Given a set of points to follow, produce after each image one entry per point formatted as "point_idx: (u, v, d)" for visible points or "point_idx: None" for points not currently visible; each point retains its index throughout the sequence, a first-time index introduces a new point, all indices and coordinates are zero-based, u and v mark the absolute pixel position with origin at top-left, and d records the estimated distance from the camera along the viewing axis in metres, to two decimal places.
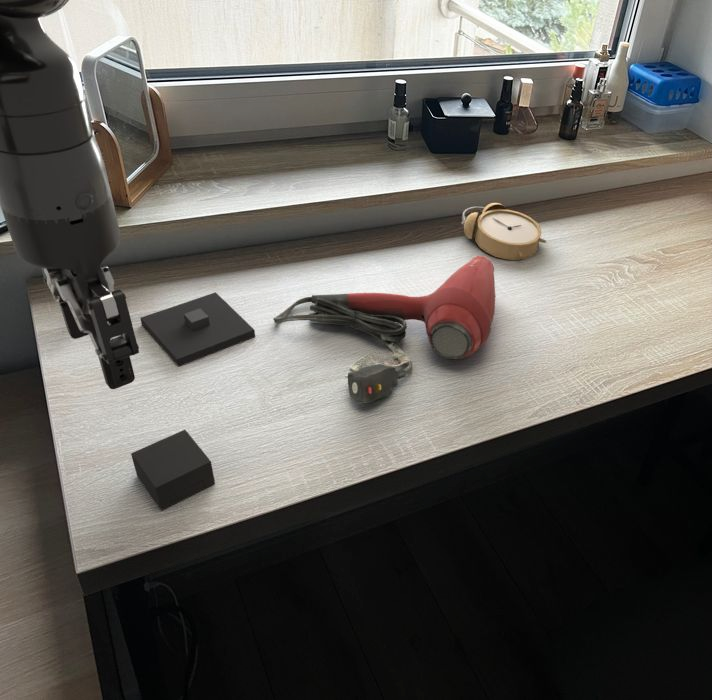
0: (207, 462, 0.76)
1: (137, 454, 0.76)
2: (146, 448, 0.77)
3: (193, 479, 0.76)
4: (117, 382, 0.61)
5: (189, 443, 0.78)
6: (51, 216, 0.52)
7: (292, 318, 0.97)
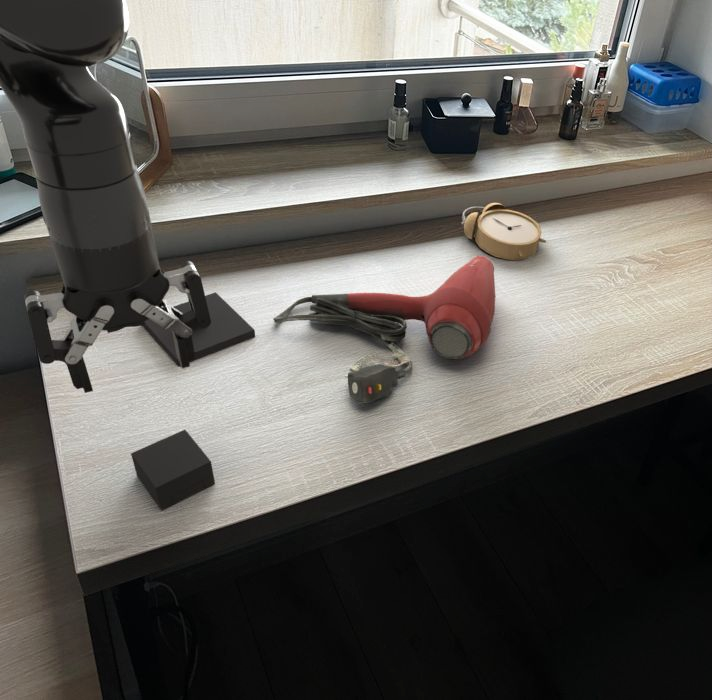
0: (207, 462, 0.76)
1: (137, 454, 0.76)
2: (146, 448, 0.77)
3: (193, 479, 0.76)
4: None
5: (189, 443, 0.78)
6: (148, 223, 0.59)
7: (292, 318, 0.97)
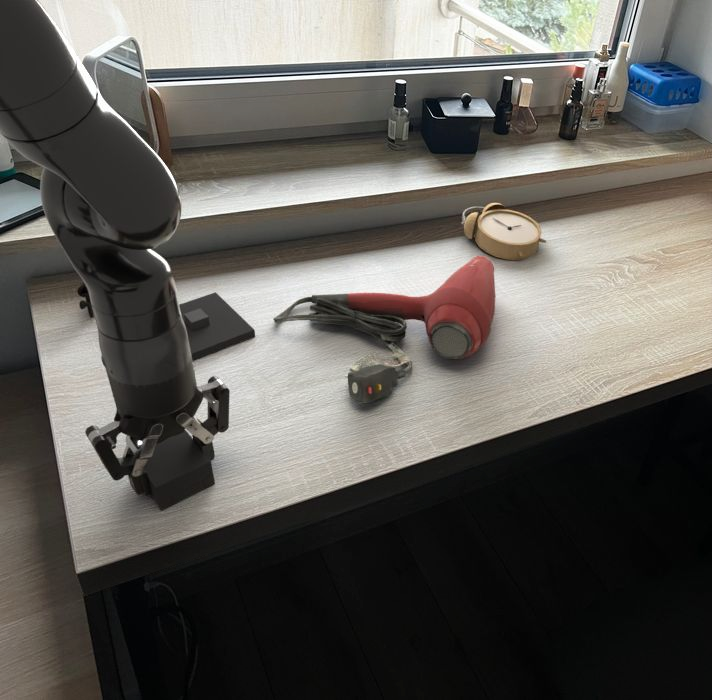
0: (207, 462, 0.76)
1: None
2: None
3: (193, 479, 0.76)
4: None
5: (189, 443, 0.78)
6: (190, 351, 0.69)
7: (292, 318, 0.97)
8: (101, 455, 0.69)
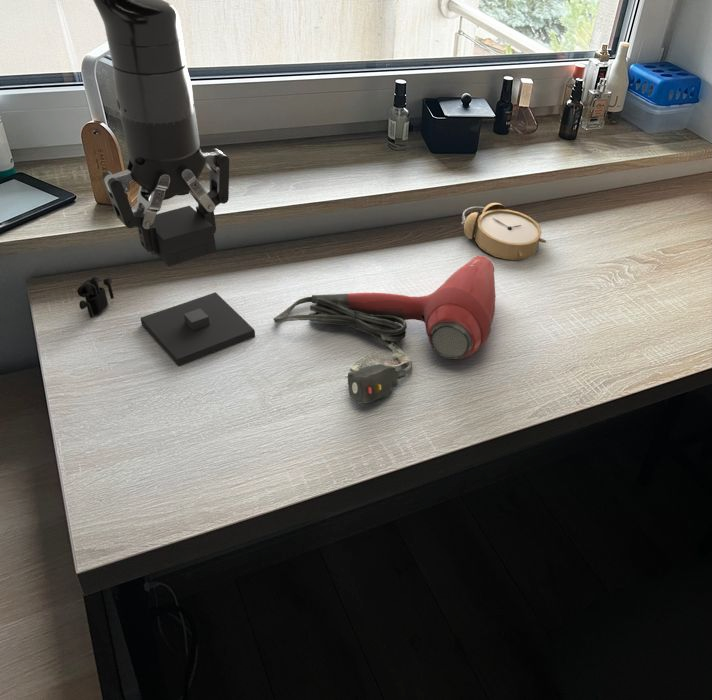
0: (209, 226, 0.85)
1: None
2: None
3: (197, 240, 0.85)
4: (215, 228, 0.89)
5: (193, 214, 0.87)
6: (194, 106, 0.78)
7: (292, 318, 0.97)
8: (115, 196, 0.77)
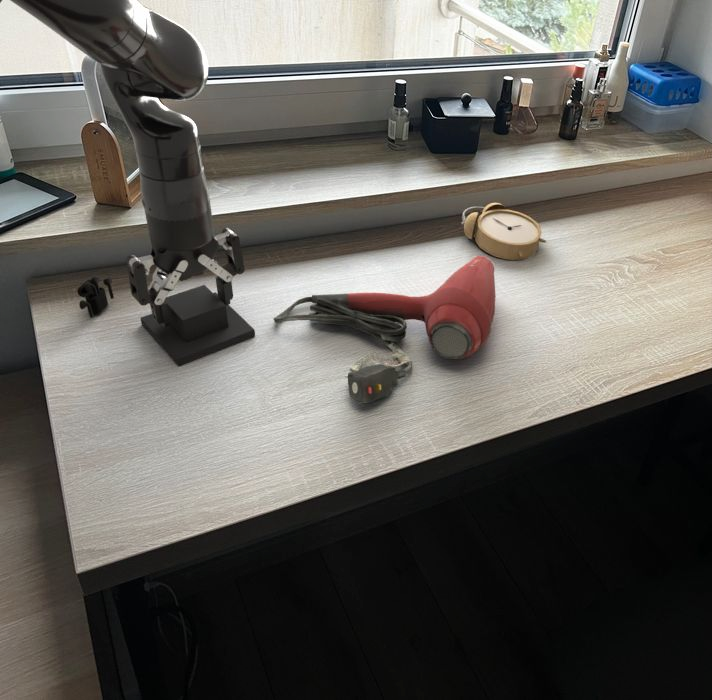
0: (222, 305, 0.96)
1: (167, 299, 0.96)
2: (173, 295, 0.97)
3: (212, 318, 0.96)
4: None
5: (207, 293, 0.98)
6: None
7: (292, 318, 0.97)
8: (137, 277, 0.87)
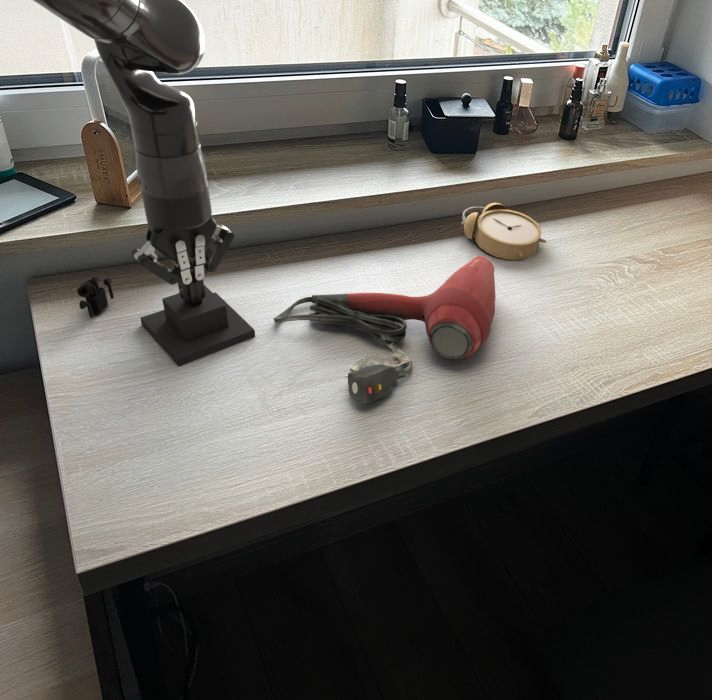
0: (222, 305, 0.96)
1: (167, 299, 0.96)
2: (173, 295, 0.97)
3: (212, 318, 0.96)
4: None
5: (208, 293, 0.98)
6: None
7: (292, 318, 0.97)
8: (149, 269, 0.88)
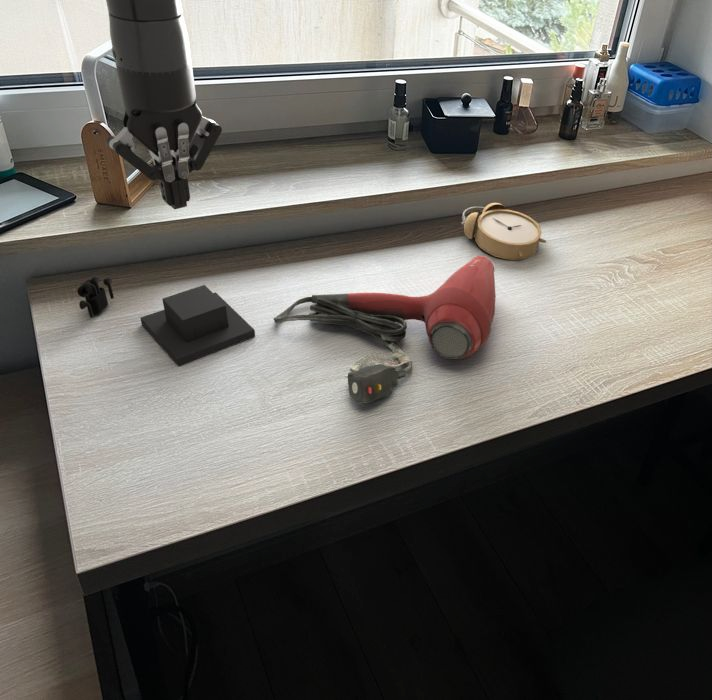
0: (223, 305, 0.96)
1: (167, 299, 0.96)
2: (174, 295, 0.97)
3: (212, 318, 0.96)
4: None
5: (208, 293, 0.98)
6: (190, 57, 0.78)
7: (292, 318, 0.97)
8: (126, 159, 0.79)
